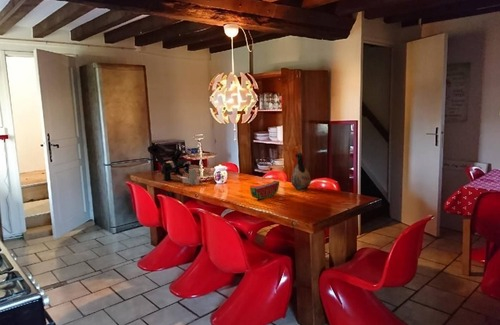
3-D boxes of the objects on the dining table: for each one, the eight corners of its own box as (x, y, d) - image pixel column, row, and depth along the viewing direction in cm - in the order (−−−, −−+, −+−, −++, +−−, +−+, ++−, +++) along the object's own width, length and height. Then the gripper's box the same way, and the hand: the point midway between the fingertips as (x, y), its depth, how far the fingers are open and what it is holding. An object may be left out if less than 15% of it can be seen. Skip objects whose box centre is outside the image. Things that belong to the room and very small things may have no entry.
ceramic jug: (289, 187, 298) (288, 151, 293) (308, 186, 299) (307, 149, 294) (293, 193, 282) (293, 154, 276) (313, 192, 283) (313, 153, 277)
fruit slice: (255, 202, 263) (255, 188, 261) (249, 200, 267) (249, 187, 266) (280, 194, 281) (279, 181, 279) (274, 192, 285) (273, 180, 283)
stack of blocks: (183, 169, 388) (182, 158, 385) (187, 170, 384) (186, 158, 381) (166, 173, 372) (165, 161, 370) (170, 174, 368) (169, 162, 366)
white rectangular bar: (182, 182, 331) (182, 178, 331) (184, 182, 333) (184, 177, 332) (197, 184, 321) (197, 180, 320) (199, 184, 323) (199, 179, 322)
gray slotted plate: (192, 184, 322) (191, 170, 320) (189, 184, 324) (188, 169, 321) (196, 183, 327) (195, 168, 324) (194, 182, 329) (193, 168, 326)
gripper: (172, 157, 321) (182, 171, 317) (188, 154, 336) (197, 167, 332) (167, 165, 327) (176, 179, 323) (182, 162, 342) (191, 174, 338)
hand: (186, 174), depth 329 cm, fingers open, 9 cm apart
